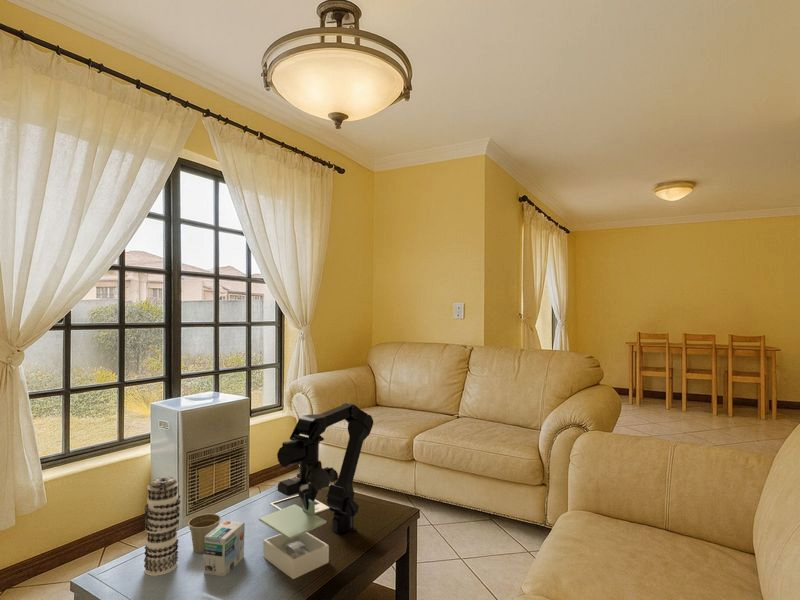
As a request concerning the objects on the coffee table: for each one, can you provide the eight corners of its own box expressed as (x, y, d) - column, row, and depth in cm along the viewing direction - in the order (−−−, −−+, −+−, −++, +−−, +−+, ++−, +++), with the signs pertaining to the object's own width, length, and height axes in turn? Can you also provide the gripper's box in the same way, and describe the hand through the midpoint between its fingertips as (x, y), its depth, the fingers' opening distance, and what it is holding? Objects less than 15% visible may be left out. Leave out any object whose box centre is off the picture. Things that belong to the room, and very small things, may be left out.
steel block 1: (297, 548, 142) (297, 539, 142) (305, 553, 140) (305, 544, 140) (286, 552, 140) (286, 544, 140) (293, 558, 137) (293, 549, 137)
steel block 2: (294, 561, 135) (294, 552, 135) (305, 564, 134) (305, 555, 134) (285, 567, 132) (285, 559, 132) (296, 571, 130) (297, 562, 130)
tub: (297, 544, 146) (298, 526, 146) (328, 564, 135) (328, 545, 135) (263, 558, 137) (263, 540, 137) (293, 581, 126) (293, 561, 126)
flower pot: (195, 560, 136) (196, 530, 136) (182, 548, 142) (182, 520, 143) (225, 548, 143) (226, 520, 143) (211, 537, 149) (212, 510, 149)
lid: (294, 508, 148) (294, 491, 148) (326, 525, 137) (326, 507, 137) (258, 522, 139) (258, 504, 139) (290, 542, 128) (289, 523, 127)
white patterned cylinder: (186, 561, 135) (188, 475, 136) (163, 579, 126) (165, 487, 127) (159, 556, 138) (161, 472, 138) (135, 574, 128) (137, 483, 129)
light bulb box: (224, 578, 127) (225, 539, 127) (202, 575, 128) (203, 536, 129) (245, 558, 137) (245, 521, 138) (224, 555, 139) (225, 519, 139)
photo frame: (295, 518, 162) (270, 502, 175) (294, 522, 162) (270, 505, 175) (329, 506, 172) (303, 492, 185) (329, 509, 172) (303, 495, 185)
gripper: (298, 472, 130) (297, 527, 130) (349, 456, 144) (348, 507, 143) (277, 462, 138) (276, 515, 137) (327, 449, 151) (326, 497, 151)
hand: (308, 508), depth 142 cm, fingers closed on lid
